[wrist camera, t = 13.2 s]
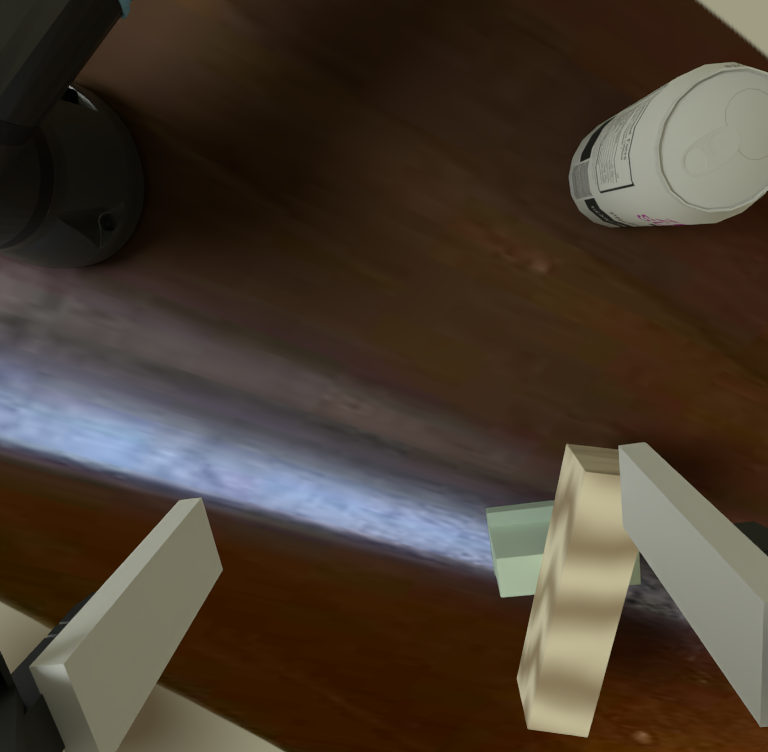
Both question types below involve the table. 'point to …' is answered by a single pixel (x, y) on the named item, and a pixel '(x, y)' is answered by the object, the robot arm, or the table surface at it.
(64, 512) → the table surface
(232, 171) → the table surface
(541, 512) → the stepped block
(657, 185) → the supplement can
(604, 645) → the beam
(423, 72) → the table surface
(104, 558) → the table surface
